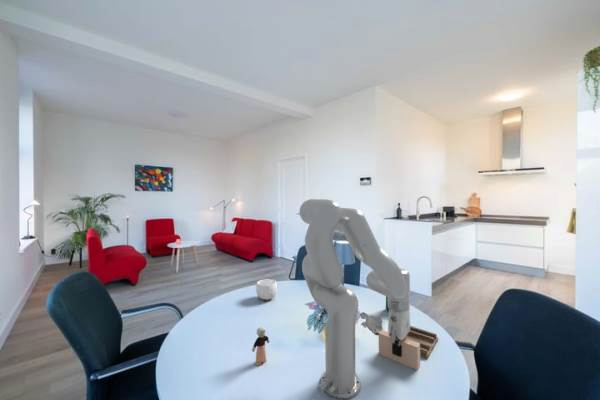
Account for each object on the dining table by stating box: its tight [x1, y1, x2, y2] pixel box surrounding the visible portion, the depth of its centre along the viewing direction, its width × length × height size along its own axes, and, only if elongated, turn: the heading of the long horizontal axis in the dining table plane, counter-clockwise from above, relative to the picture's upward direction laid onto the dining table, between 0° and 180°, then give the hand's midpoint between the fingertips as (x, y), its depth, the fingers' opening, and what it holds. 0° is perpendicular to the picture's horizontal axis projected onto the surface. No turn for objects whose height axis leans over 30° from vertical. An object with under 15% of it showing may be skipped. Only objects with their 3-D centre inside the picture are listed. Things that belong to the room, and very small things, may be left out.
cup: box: [255, 278, 278, 301], centre depth 150 cm, size 12×12×10 cm
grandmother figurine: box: [251, 326, 271, 367], centre depth 94 cm, size 8×4×13 cm, turn 148°
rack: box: [405, 325, 439, 360], centre depth 105 cm, size 16×16×2 cm
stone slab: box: [360, 311, 383, 335], centre depth 120 cm, size 18×2×10 cm
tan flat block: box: [378, 330, 421, 371], centre depth 94 cm, size 3×14×8 cm, turn 49°
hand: (398, 352), depth 94 cm, fingers closed on tan flat block, 3 cm apart
